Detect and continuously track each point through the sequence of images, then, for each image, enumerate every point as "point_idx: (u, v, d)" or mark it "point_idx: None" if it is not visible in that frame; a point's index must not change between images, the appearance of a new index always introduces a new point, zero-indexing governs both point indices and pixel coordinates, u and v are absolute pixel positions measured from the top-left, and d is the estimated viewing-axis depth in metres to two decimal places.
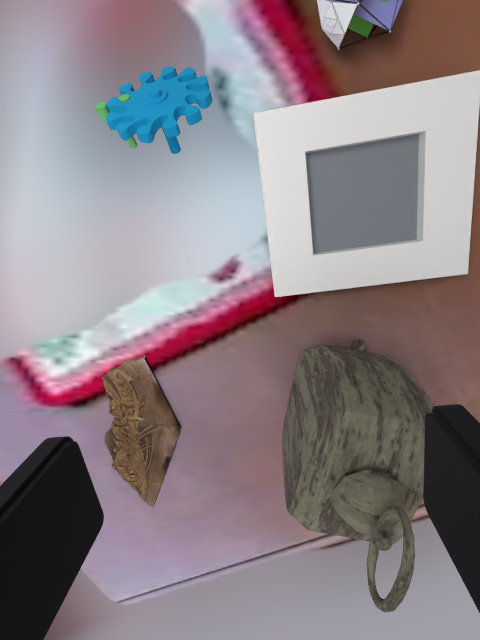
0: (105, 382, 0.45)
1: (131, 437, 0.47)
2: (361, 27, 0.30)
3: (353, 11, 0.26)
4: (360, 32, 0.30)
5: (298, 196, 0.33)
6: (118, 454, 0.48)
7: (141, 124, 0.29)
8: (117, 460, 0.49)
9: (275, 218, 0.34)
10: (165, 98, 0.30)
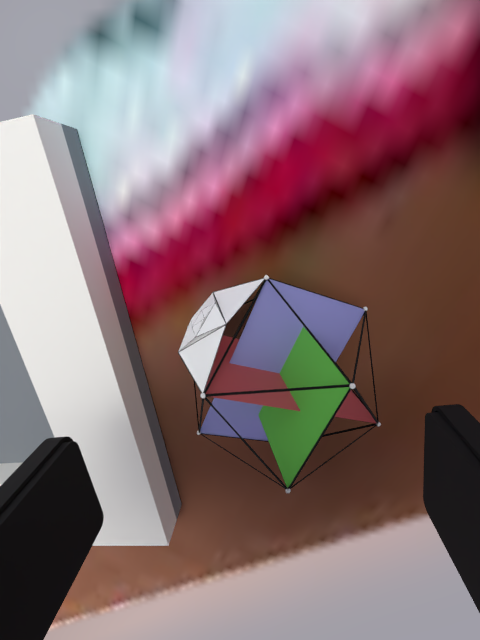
0: None
1: None
2: None
3: (197, 380, 0.10)
4: None
5: None
6: None
7: None
8: None
9: None
10: None
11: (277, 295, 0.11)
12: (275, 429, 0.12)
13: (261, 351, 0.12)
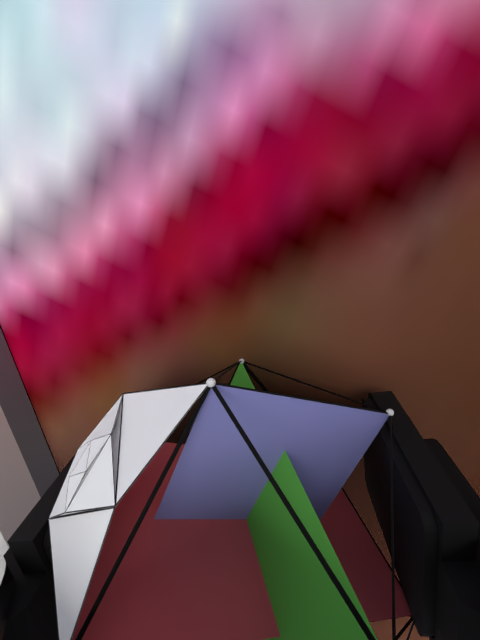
0: None
1: None
2: None
3: (61, 616, 0.05)
4: None
5: None
6: None
7: None
8: None
9: None
10: None
11: (234, 409, 0.06)
12: None
13: (211, 496, 0.07)
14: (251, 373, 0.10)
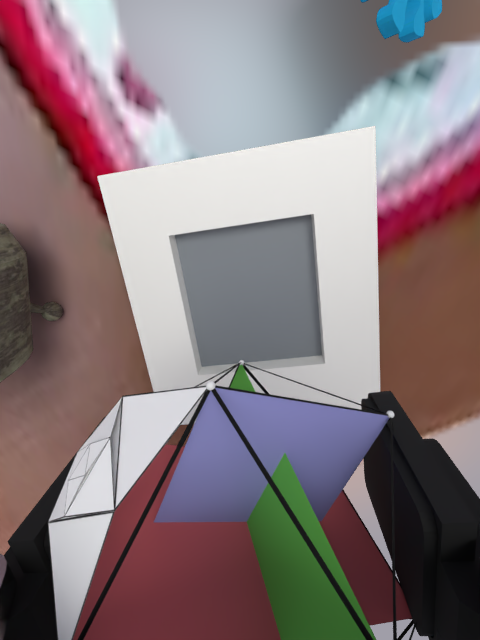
0: None
1: None
2: None
3: (60, 621, 0.05)
4: None
5: (251, 206, 0.22)
6: None
7: None
8: None
9: (220, 171, 0.22)
10: None
11: (234, 412, 0.06)
12: None
13: (211, 498, 0.07)
14: (251, 375, 0.10)
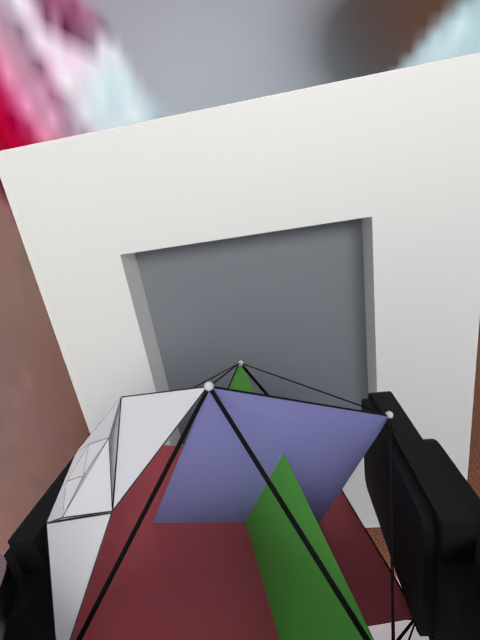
0: None
1: None
2: None
3: (58, 622, 0.05)
4: None
5: (262, 204, 0.13)
6: None
7: None
8: None
9: (205, 141, 0.12)
10: None
11: (233, 413, 0.06)
12: None
13: (210, 499, 0.07)
14: (250, 375, 0.10)
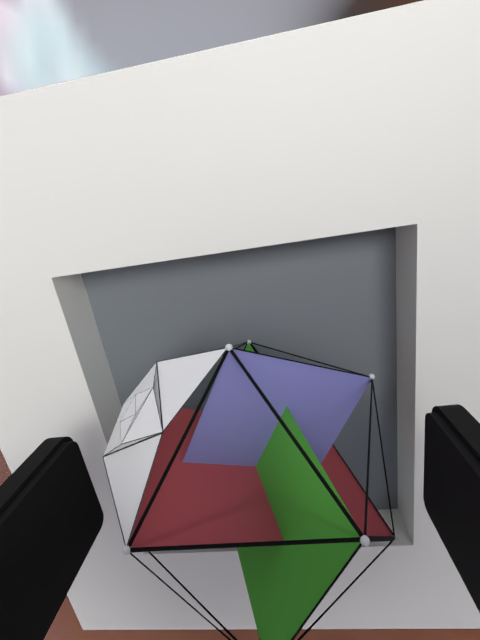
0: None
1: None
2: None
3: (121, 517, 0.06)
4: None
5: (254, 206, 0.08)
6: None
7: None
8: None
9: (167, 110, 0.08)
10: None
11: (246, 370, 0.07)
12: (250, 554, 0.08)
13: (228, 443, 0.08)
14: (257, 352, 0.11)
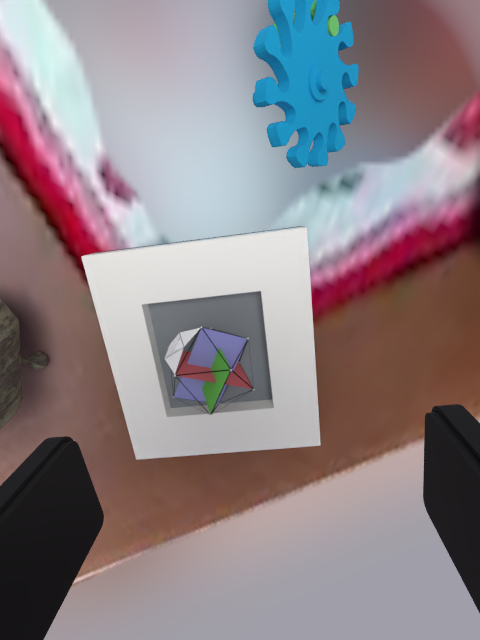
0: None
1: None
2: None
3: (172, 370, 0.25)
4: None
5: (210, 284, 0.27)
6: None
7: (286, 42, 0.19)
8: None
9: (184, 256, 0.26)
10: (313, 96, 0.21)
11: (206, 334, 0.26)
12: (207, 392, 0.27)
13: (201, 358, 0.27)
14: None
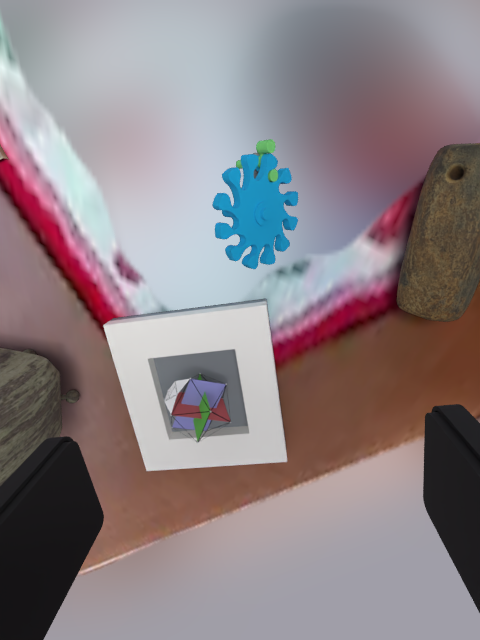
0: None
1: None
2: None
3: (169, 410, 0.34)
4: None
5: (197, 344, 0.36)
6: None
7: (236, 196, 0.28)
8: None
9: (177, 325, 0.36)
10: (259, 224, 0.30)
11: (194, 382, 0.35)
12: (196, 425, 0.36)
13: (191, 399, 0.36)
14: (202, 376, 0.39)
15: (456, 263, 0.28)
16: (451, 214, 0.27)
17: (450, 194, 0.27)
